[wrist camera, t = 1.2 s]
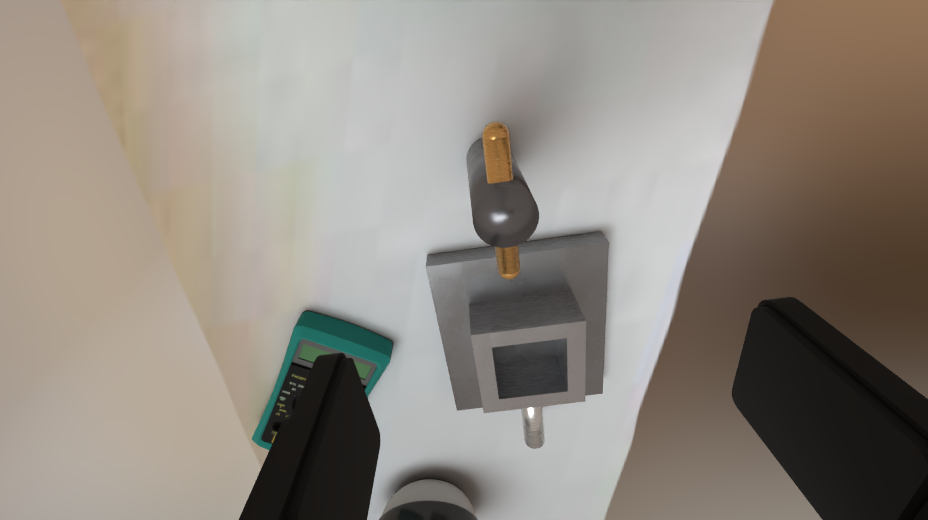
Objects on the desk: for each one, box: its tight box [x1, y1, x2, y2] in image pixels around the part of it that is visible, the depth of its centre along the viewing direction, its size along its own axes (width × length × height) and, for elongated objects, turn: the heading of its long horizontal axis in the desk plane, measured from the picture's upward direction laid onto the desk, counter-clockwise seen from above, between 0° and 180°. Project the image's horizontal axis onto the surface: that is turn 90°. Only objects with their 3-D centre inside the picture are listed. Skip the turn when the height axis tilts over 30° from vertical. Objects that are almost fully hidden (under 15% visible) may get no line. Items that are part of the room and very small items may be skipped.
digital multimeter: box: [252, 311, 393, 450], centre depth 33 cm, size 7×15×3 cm, turn 153°
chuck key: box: [467, 122, 539, 280], centre depth 21 cm, size 8×3×9 cm, turn 8°
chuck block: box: [426, 232, 609, 448], centre depth 30 cm, size 16×12×5 cm
